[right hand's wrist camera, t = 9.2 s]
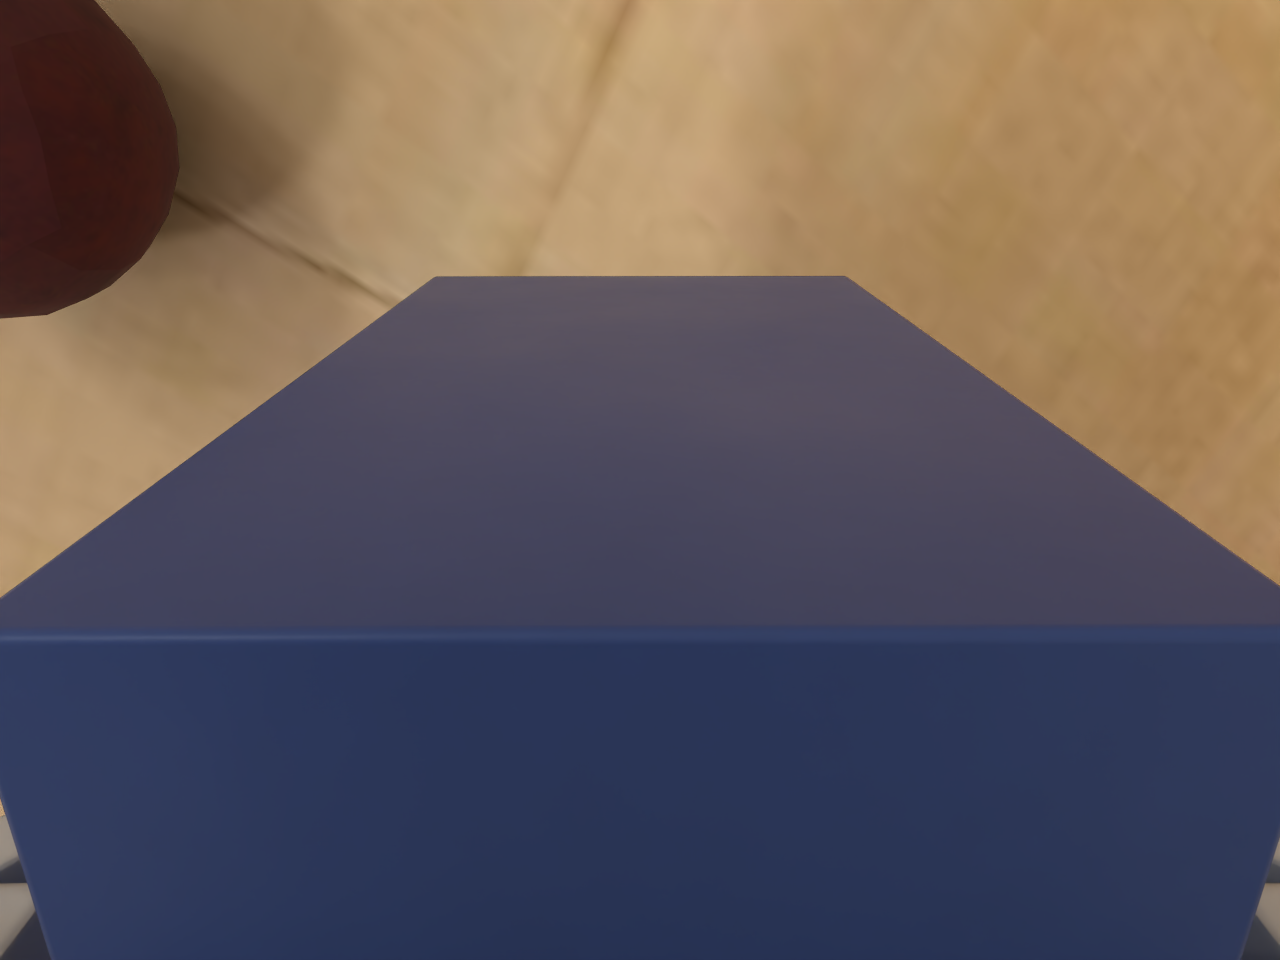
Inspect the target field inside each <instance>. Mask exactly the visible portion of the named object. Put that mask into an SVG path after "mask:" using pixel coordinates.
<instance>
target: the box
mask: <svg viewBox="0 0 1280 960" xmlns="http://www.w3.org/2000/svg"><path fill="white" fill-rule="evenodd" d="M0 799H1V802H2V805H3V808H4V812H5V815H6V818H7V821H8V824H9V827H10V831H11V834H12V837H13V840H14V843H15V847H16V850H17V853H18V856H19V859H20V862H21V866H22V869H23V872H24V875H25V878H26V882H27V885H28V888H29V891H30V894H31V897H32V901H33V904H34V907H35V910H36V913H37V916H38V920H39V923H40V926H41V929H42V932H43V936H44V939H45V942H46V945H47V948H48V951H49V955H50V958H51V960H1241V958H1242V955H1243V951H1244V948H1245V945H1246V942H1247V939H1248V936H1249V933H1250V930H1251V926H1252V923H1253V920H1254V917H1255V914H1256V911H1257V908H1258V904H1259V901H1260V898H1261V895H1262V892H1263V889H1264V886H1265V882H1266V879H1267V876H1268V873H1269V870H1270V867H1271V864H1272V861H1273V857H1274V854H1275V851H1276V848H1277V845H1278V842H1279V839H1280V586H1279V585H1278V584H1276V583H1275V582H1273V581H1272V580H1271V579H1269V578H1268V577H1266V576H1265V575H1264V574H1262V573H1261V572H1259V571H1258V570H1257V569H1255V568H1254V567H1252V566H1251V565H1250V564H1248V563H1247V562H1245V561H1244V560H1243V559H1241V558H1240V557H1238V556H1237V555H1236V554H1234V553H1233V552H1231V551H1230V550H1229V549H1227V548H1226V547H1224V546H1223V545H1222V544H1220V543H1219V542H1217V541H1216V540H1215V539H1213V538H1212V537H1210V536H1209V535H1208V534H1206V533H1205V532H1203V531H1202V530H1201V529H1199V528H1198V527H1196V526H1195V525H1194V524H1192V523H1191V522H1189V521H1188V520H1187V519H1185V518H1184V517H1182V516H1181V515H1180V514H1178V513H1177V512H1175V511H1174V510H1173V509H1171V508H1170V507H1168V506H1167V505H1166V504H1164V503H1163V502H1161V501H1160V500H1159V499H1157V498H1156V497H1154V496H1153V495H1152V494H1150V493H1149V492H1147V491H1146V490H1145V489H1143V488H1142V487H1140V486H1139V485H1138V484H1136V483H1135V482H1133V481H1132V480H1131V479H1129V478H1128V477H1126V476H1125V475H1124V474H1122V473H1121V472H1119V471H1118V470H1117V469H1115V468H1114V467H1112V466H1111V465H1110V464H1108V463H1107V462H1105V461H1104V460H1103V459H1101V458H1100V457H1098V456H1097V455H1096V454H1094V453H1093V452H1091V451H1090V450H1089V449H1087V448H1086V447H1084V446H1083V445H1082V444H1080V443H1079V442H1077V441H1076V440H1075V439H1073V438H1072V437H1070V436H1069V435H1068V434H1066V433H1065V432H1063V431H1062V430H1061V429H1059V428H1058V427H1056V426H1055V425H1054V424H1052V423H1051V422H1049V421H1048V420H1047V419H1045V418H1044V417H1042V416H1041V415H1040V414H1038V413H1037V412H1035V411H1034V410H1033V409H1031V408H1030V407H1028V406H1027V405H1026V404H1024V403H1023V402H1021V401H1020V400H1019V399H1017V398H1016V397H1014V396H1013V395H1012V394H1010V393H1009V392H1007V391H1006V390H1005V389H1003V388H1002V387H1000V386H999V385H998V384H996V383H995V382H993V381H992V380H991V379H989V378H988V377H986V376H985V375H984V374H982V373H981V372H979V371H978V370H977V369H975V368H974V367H972V366H971V365H970V364H968V363H967V362H965V361H964V360H963V359H961V358H960V357H958V356H957V355H956V354H954V353H953V352H951V351H950V350H949V349H947V348H946V347H944V346H943V345H942V344H940V343H939V342H937V341H936V340H935V339H933V338H932V337H930V336H929V335H928V334H926V333H925V332H923V331H922V330H921V329H919V328H918V327H916V326H915V325H914V324H912V323H911V322H909V321H908V320H907V319H905V318H904V317H902V316H901V315H900V314H898V313H897V312H895V311H894V310H893V309H891V308H890V307H888V306H887V305H886V304H884V303H883V302H881V301H880V300H879V299H877V298H876V297H874V296H873V295H872V294H870V293H869V292H867V291H866V290H865V289H863V288H862V287H860V286H859V285H858V284H856V283H855V282H853V281H852V280H851V279H849V278H848V277H845V276H474V277H434V278H433V279H431V280H430V281H429V282H427V283H426V284H424V285H423V286H422V287H420V288H419V289H418V290H416V291H415V292H414V293H412V294H411V295H410V296H408V297H407V298H406V299H404V300H403V301H401V302H400V303H399V304H397V305H396V306H395V307H393V308H392V309H391V310H389V311H388V312H387V313H385V314H384V315H382V316H381V317H380V318H378V319H377V320H376V321H374V322H373V323H372V324H370V325H369V326H368V327H366V328H365V329H364V330H362V331H361V332H359V333H358V334H357V335H355V336H354V337H353V338H351V339H350V340H349V341H347V342H346V343H345V344H343V345H342V346H341V347H339V348H338V349H336V350H335V351H334V352H332V353H331V354H330V355H328V356H327V357H326V358H324V359H323V360H322V361H320V362H319V363H318V364H316V365H315V366H313V367H312V368H311V369H309V370H308V371H307V372H305V373H304V374H303V375H301V376H300V377H299V378H297V379H296V380H295V381H293V382H292V383H290V384H289V385H288V386H286V387H285V388H284V389H282V390H281V391H280V392H278V393H277V394H276V395H274V396H273V397H272V398H270V399H269V400H267V401H266V402H265V403H263V404H262V405H261V406H259V407H258V408H257V409H255V410H254V411H253V412H251V413H250V414H248V415H247V416H246V417H244V418H243V419H242V420H240V421H239V422H238V423H236V424H235V425H234V426H232V427H231V428H230V429H228V430H227V431H225V432H224V433H223V434H221V435H220V436H219V437H217V438H216V439H215V440H213V441H212V442H211V443H209V444H208V445H207V446H205V447H204V448H202V449H201V450H200V451H198V452H197V453H196V454H194V455H193V456H192V457H190V458H189V459H188V460H186V461H185V462H184V463H182V464H181V465H179V466H178V467H177V468H175V469H174V470H173V471H171V472H170V473H169V474H167V475H166V476H165V477H163V478H162V479H161V480H159V481H158V482H156V483H155V484H154V485H152V486H151V487H150V488H148V489H147V490H146V491H144V492H143V493H142V494H140V495H139V496H138V497H136V498H135V499H133V500H132V501H131V502H129V503H128V504H127V505H125V506H124V507H123V508H121V509H120V510H119V511H117V512H116V513H114V514H113V515H112V516H110V517H109V518H108V519H106V520H105V521H104V522H102V523H101V524H100V525H98V526H97V527H96V528H94V529H93V530H91V531H90V532H89V533H87V534H86V535H85V536H83V537H82V538H81V539H79V540H78V541H77V542H75V543H74V544H73V545H71V546H70V547H68V548H67V549H66V550H64V551H63V552H62V553H60V554H59V555H58V556H56V557H55V558H54V559H52V560H51V561H50V562H48V563H47V564H45V565H44V566H43V567H41V568H40V569H39V570H37V571H36V572H35V573H33V574H32V575H31V576H29V577H28V578H27V579H25V580H24V581H22V582H21V583H20V584H18V585H17V586H16V587H14V588H13V589H12V590H10V591H9V592H8V593H6V594H5V595H4V596H2V597H1V598H0Z"/></svg>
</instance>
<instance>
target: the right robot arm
mask: <svg viewBox="0 0 1280 960" xmlns="http://www.w3.org/2000/svg"><path fill="white" fill-rule="evenodd" d="M0 960H51V958H50V955H49V951H48V948H47V945H46V942H45V939H44V936H43V932H42V929H41V926H40V923H39V920H38V916H37V913H36V910H35V907H34V904H33V901H32V897H31V894H30V891H29V888H28V885H27V882H26V878H25V875H24V872H23V869H22V866H21V862H20V859H19V856H18V853H17V850H16V847H15V843H14V840H13V837H12V834H11V831H10V827H9V824H8V821H7V818H6V815H4V816H2V817H0ZM1241 960H1280V839H1279V842H1278V845H1277V848H1276V851H1275V854H1274V857H1273V861H1272V864H1271V867H1270V870H1269V873H1268V876H1267V879H1266V882H1265V886H1264V889H1263V892H1262V895H1261V898H1260V901H1259V904H1258V908H1257V911H1256V914H1255V917H1254V920H1253V923H1252V926H1251V930H1250V933H1249V936H1248V939H1247V942H1246V945H1245V948H1244V951H1243V955H1242V958H1241Z"/></svg>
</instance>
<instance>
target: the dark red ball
mask: <svg viewBox="0 0 1280 960" xmlns="http://www.w3.org/2000/svg"><path fill="white" fill-rule="evenodd" d="M178 172H179V158H178V146H177V133H176V126H175V123H174V121H173V118H172V115H171V113H170V110H169V107H168V105H167V102H166V99H165V97H164V94H163V91H162V89H161V86H160V85H159V83H158V81H157V80H156V78H155V77H154V75H153V74H152V72H151V71H150V69H149V67H148V66H147V64H146V63H145V61H144V60H143V58H142V57H141V55H140V53H139V52H138V50H137V49H136V47H135V46H134V45H133V44H132V42H131V41H130V40H129V39H128V38H127V36H126V35H125V34H124V33H123V32H122V31H121V30H120V29H119V27H118V26H117V25H116V24H115V23H114V22H113V21H112V20H111V18H110V17H109V16H108V15H107V14H106V13H105V12H104V11H103V9H102V8H101V7H100V6H99V5H98V4H97V3H96V2H95V1H94V0H0V318H13V317H26V316H39V315H48V314H50V313H53V312H55V311H58V310H60V309H62V308H65V307H67V306H70V305H72V304H75V303H77V302H80V301H82V300H84V299H87V298H89V297H91V296H93V295H94V294H96V293H98V292H100V291H102V290H104V289H105V288H107V287H109V286H111V285H112V284H113V283H114V282H115V281H116V280H117V279H118V278H120V277H121V276H122V275H123V274H124V273H125V272H126V271H127V270H129V269H130V268H131V267H132V266H133V265H134V264H135V263H136V262H137V261H139V260H140V259H141V257H142V256H143V255H144V253H145V252H146V251H147V249H148V248H149V247H150V245H151V243H152V242H153V240H154V238H155V236H156V235H157V233H158V231H159V230H160V228H161V226H162V224H163V223H164V221H165V219H166V218H167V216H168V214H169V210H170V206H171V202H172V198H173V193H174V189H175V185H176V180H177V176H178Z"/></svg>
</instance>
